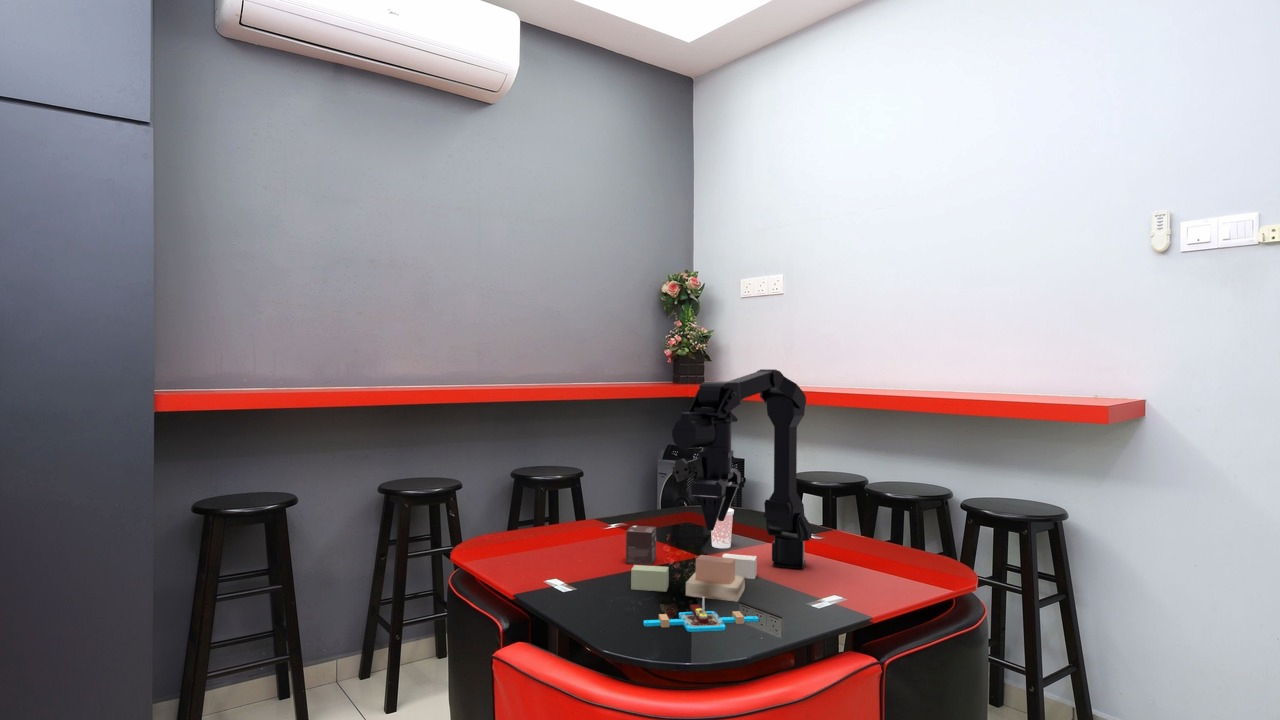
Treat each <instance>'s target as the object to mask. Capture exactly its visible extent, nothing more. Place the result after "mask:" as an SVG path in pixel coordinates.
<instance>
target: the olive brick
mask: <svg viewBox="0 0 1280 720" xmlns="http://www.w3.org/2000/svg"><path fill="white" fill-rule="evenodd" d="M630 571H631V572H630V573H631V574H630V575H631V576H630V590H636V591H648V592H649V591H650V592H651V591H654V592H665V593H666V592H667V591H668V589H669V586H670V585H669V583H670V581H669V579H670V578H669V577H670V576H669V575H670V572H669V571H670V569H669V566H659V565H644V564H633V566H632V568H631V569H630Z"/></svg>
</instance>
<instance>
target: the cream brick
mask: <svg viewBox="0 0 1280 720" xmlns="http://www.w3.org/2000/svg"><path fill="white" fill-rule="evenodd" d="M721 557H724V558H733V559H735V576H745V579H749V580H755V579H756V577H757V570H758V569H757V563H758V562H757V560H758V559H757V557H758V556H757V555H748V554H747V555H746V554H744V555H743V554H733V553H732V554H731V553H723V554H722V556H721Z"/></svg>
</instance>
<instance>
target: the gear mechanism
mask: <svg viewBox="0 0 1280 720" xmlns="http://www.w3.org/2000/svg"><path fill="white" fill-rule="evenodd" d="M705 599H706V598H705V597H702V601H701V606H700V604H690V605H689V609H690V611H684V612H678V618H675V619H674V618H673V619H672V618H671V619H670V618H669V616H668V615H667V613H662V614H661V613H659V614H658V619H646V620H645V619H644V620H643V626H644V627H661V628H670V626H683V627H684V628H685V630H686V631H687V632H689V633H692V632H693V633H694V632H714V631H715V632H716V631H718V632H719V631H720V632H721V631H726V625H725V624H730V623H733V624H736V625H744V624H745V623H755V622H757V623H758V622H760V619H759V617H758V616H756V615H754V616H752V615H749V616H744V615H743V614H742V613H741V611H738V610H737V611H731V616H727V617H725V616H723V617H720V615H718V613H717V612H716V611H713V610H711V611H710V610H707V611H705V609H706V608H705V607H706V606H705V604H706V603H705Z"/></svg>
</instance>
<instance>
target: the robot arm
mask: <svg viewBox="0 0 1280 720" xmlns="http://www.w3.org/2000/svg"><path fill="white" fill-rule="evenodd" d="M758 394H759V398H760V399H761V400H762V401H763V402H764V404H765V405H766V415H767V417H768V418H769V421H770V422H771V424H772V425H773V431H774V432H773V434H774V435H773V492H772V493H771V495H770V497H769V498H768V499H765V501H764V514H763V518H764V522H765V525H766V532H767V536H772V537H774V540H773V541H772V543H771V561H772V566H773V567H776V568H777V567H778V568H788V569H796V570H797V569H798V570H802V569H803V568H804V567H805V564H806V559H805V542H809V541H810V540H811V539H812V537H813V531H814V529H813V527H812V526H811V524H810V522H809V520H808V519H807V518H806V514H805V506H804V503H803V501H802V499H801V497H800V496H799V494H798V493H797V469H798V467H797V464H798V462H797V460H798V459H797V457H798V456H797V452H798V451H797V450H798V449H797V445H798V443H797V441H798V437H797V436H798V435H797V434H798V433H797V432H798V426H799V424H800V423H801V421H802V419H803V418H804V416H805V413H806V412H805V409H806V403H807V397H806V396H807V395H806V393H804V392H803V390H802V389H801V388H800V386H799V385H798V384H797V383H796V382H794V381H793V380H790V379H789V378H788V377H786V376H785V375H784V374H783V373H782V372H781V370H778V369H773V368H772V369H767V368H765V369H759V370H757V371H754V372H753V373H749V374H745V375H742V376H740V377H737V378H734V379H731V380H727V381H725V380H724V381H719V380H718V381H704V382H701V383H700V384H699V389H698V390H697V392H696V394H695V396H694V398H693V400H692V401H691V404H690V406H689V408H688V410H687V412H681V413H680V419H678V420H677V421H676V422H675V424H673V425H674V426H673V429H672V430H671V435H672V440H673V442H674V444H675V445H676V446H677V447H678V448H679V449H681V450H692V449H699V448H701V450H699V451H698V453H697V458H695V459H694V458H693V459H691V460H689V461H687V460H686V459H685V458H681V459H677V460H676V461H674V466H672V468H671V469H672V472H671V474H672V475H673V476H675V478H676V482H677V483H679V482H682V481H684V480H686V479H689V478H692V477H695V476H696V478H695V479H693V480H692V481H691V482H690V483H689V484H688V485H689V488H688V489H689V492H688V493H689V495H691V497H692V498H693V499H695V500H696V501H697V502H698V503H699V504H700V506H701V510H702V514H703V518H704V523H705V525H706V529H707V531H708V532H711V531H713V530H714V527H715V524H716V522H717V519H718V520H719V521H724V519H725V517H726V514H727V512H728V510H729V508H731V505H732V502H733V500H734V497H735V495H736V494H737V490H738V489H739V487H740V485H739V484H740V483H741V479H742V478H741V477H742V476H741V475H742V474H741V472H740V471H739V469H737V468H732V457H733V456H734V450H732V423H737V422H738V420H739V419H738V417H737V416H736V415H734V414H733V412H732V411H734V410H735V409H737V408H738V407H739V406H741V404H742V401H743V400H744V399H747V398H750V397H752V396H756V395H758ZM733 483H734V484H733Z"/></svg>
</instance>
